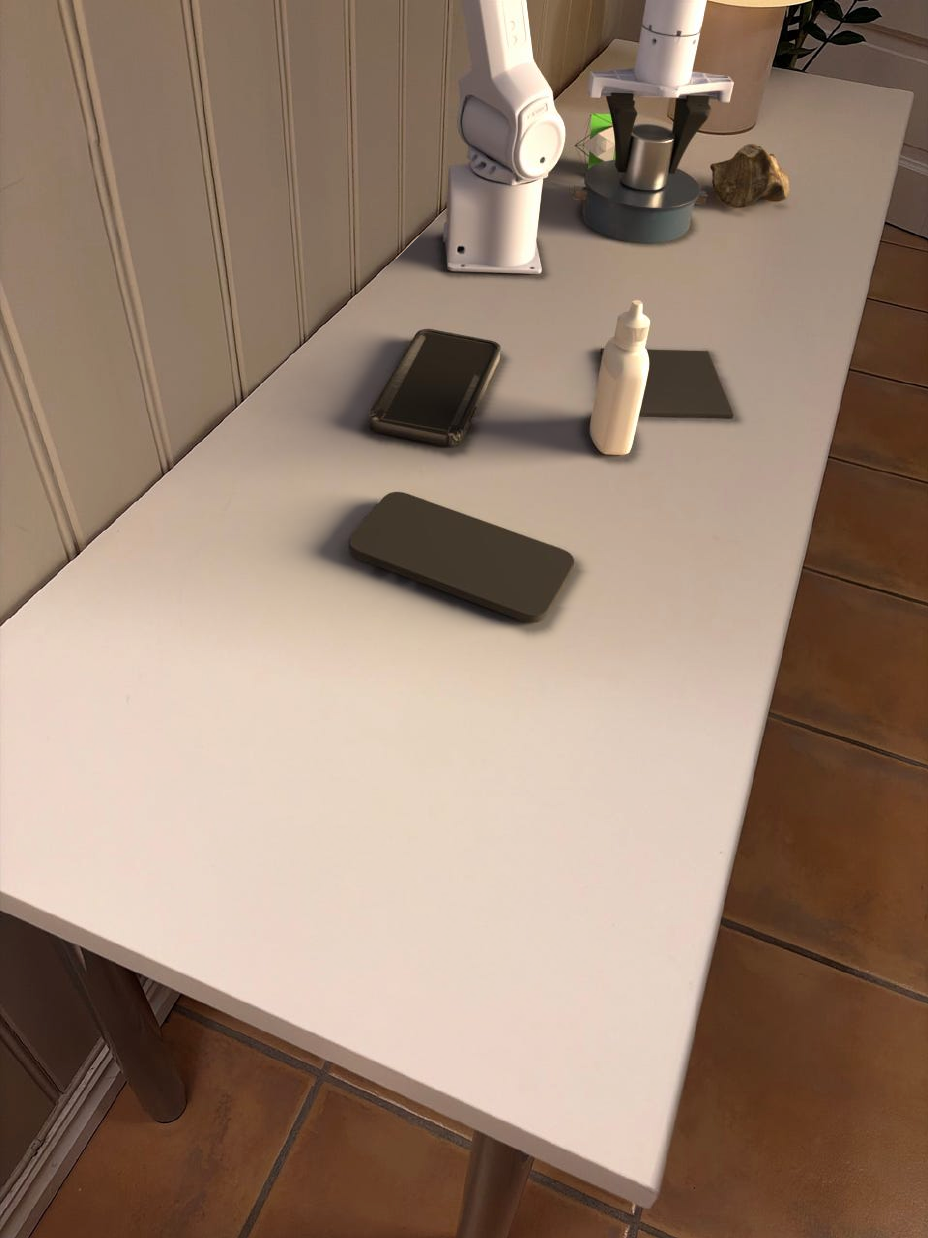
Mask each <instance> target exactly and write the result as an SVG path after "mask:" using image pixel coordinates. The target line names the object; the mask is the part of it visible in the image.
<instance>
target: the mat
mask: <svg viewBox="0 0 928 1238" xmlns="http://www.w3.org/2000/svg"><path fill="white" fill-rule="evenodd" d="M604 348H605V347H601V348H600V356H601V357H602V356H603V352H604ZM646 350H647V353H648V358H649V370H648V375H647V380H646V385H645V389H644V394H643V398H642V403H641V407H640V412H639V416H638V417H660V418H661V417H666V418H668V417H669V418H708V419H709V418H712V419H714V418H716V419H733V417H734V411H733V409H732V407H731V405H730V401H729V399H728V397H727V395H726V392H725V390H724V388H723V385H722V382H721V379H720V376H719V375H718V372H717V370H716V367H715V366H714V365H715V364H714V362H713V360H712V358H711V355H710V353H709V350H679V349H646Z"/></svg>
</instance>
